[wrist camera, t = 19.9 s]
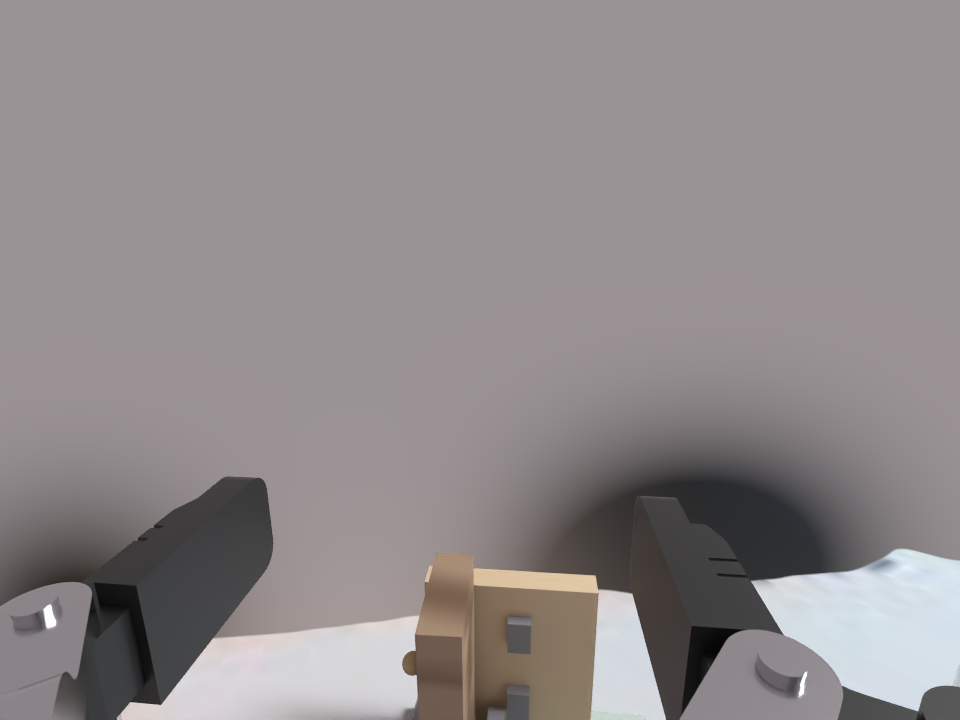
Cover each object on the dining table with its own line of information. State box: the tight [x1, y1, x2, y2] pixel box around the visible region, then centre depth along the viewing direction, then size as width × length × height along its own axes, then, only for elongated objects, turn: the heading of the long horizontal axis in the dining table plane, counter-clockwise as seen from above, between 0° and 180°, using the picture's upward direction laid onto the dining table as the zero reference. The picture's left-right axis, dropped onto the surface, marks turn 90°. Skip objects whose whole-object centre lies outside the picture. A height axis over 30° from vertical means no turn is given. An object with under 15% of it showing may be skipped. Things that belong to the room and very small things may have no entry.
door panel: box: [402, 553, 475, 720], centre depth 32 cm, size 7×4×16 cm, turn 176°
